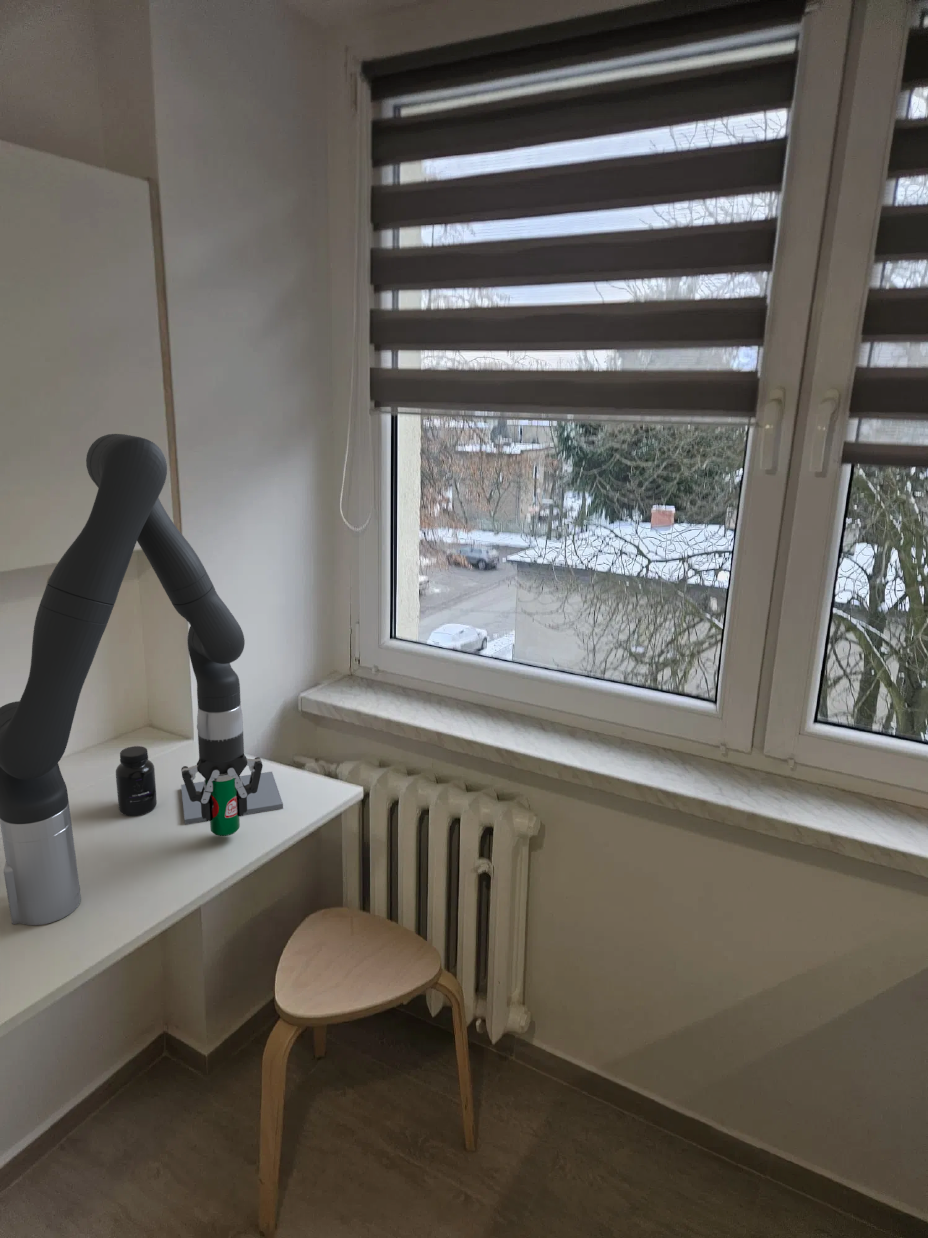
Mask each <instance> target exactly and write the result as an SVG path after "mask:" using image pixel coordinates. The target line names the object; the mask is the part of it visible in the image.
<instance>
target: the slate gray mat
mask: <svg viewBox="0 0 928 1238" xmlns="http://www.w3.org/2000/svg"><path fill="white" fill-rule="evenodd" d="M250 776H251V774H245V775H240V777H241V779H242V782H243V784H244V786H245V785H247V784H249V781H250ZM193 783H194V786H195V789H196V791H200V792H201V790H202V787H203V784H204V781H197V782H193ZM180 788H181V798H182V799H181V800H182V807H183V818H184V825H188V824H189V825H192V824H198V823H203V822H207V821H206V818H205V819H203V818H202V814H201V803H200V802H199V801H195V802H192V801H191V800H190V798H189V795H188V792H187V789H186V786H185V783H183V784H181V785H180ZM238 793H239V792H238ZM281 809H282V810H283V809H284V803H283V800H282V798H281V794H280V791H279V788H278V785H277V781H276V779H275V776H274V773H273V771H267V772H265V771H264V772H261V776H260V780H259V785H258V790H257V792H256V793H251V794H249V795H248V796H247V812H246V813H244V816H245V815H252V814H255V813H256V814H257V813H265V812H269V811H276V810H281Z"/></svg>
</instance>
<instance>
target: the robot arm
mask: <svg viewBox="0 0 928 1238" xmlns="http://www.w3.org/2000/svg"><path fill="white" fill-rule="evenodd" d="M86 453H87V454H86V458H85V463H86V470H87V473H88V475H89V477H90V479H91V480H92V482H93V483H94V484H95V485H96V487H97V489H98V490H97V492H96V497H95V499H94V502H93V505H92V508H91V511H90V514H89V516H88V519H87V520H86V523H85V525H84V527H83V528H82V529H81V532H80V533H79V534H78V535H77V537H76V538H75V539H74V541H73V542H72V543H71V544H70V546H69V547H68V548H67V550H66V551H65V552H64V554H63V555H62V557H61V558H60V559H59V561H58V562H57V564H56V565H55V567H54V568H53V570H52V573H51V575H50V577H49V578H48V581H47V584H46V586H45V589H44V591H43V594H42V596H41V600H40V602H39V605H38V608H37V612H36V616H35V620H34V624H33V631H32V633H33V634H32V643H31V644H32V645H31V657H30V666H29V667H30V668H29V674H28V679H27V682H26V685H25V688H24V690H23V693H22V695H21V697H20V700H19V701H17V700H16V701H13V702H9V703H6V704H4V705H2V706H1V707H0V830H1V836H2V837H1V839H2V843H3V844H2V845H3V850H4V858H5V863H4V866H3V874H4V875H3V876H4V881H5V882H4V883H5V889H6V893H7V901H8V908H9V915H10V919H11V924H12V925H16V924H17V925H18V924H23V925H28V926H40V925H42V926H43V925H46V924H47V925H48V924H51V923H54V922H57V921H60V920H61V919H64V918H66V917H67V916H69V915H71V913H73V912H74V911H75V910H76V909H77V908H78V906H79V905H80V904H81V900H82V897H81V885H80V880H79V871H78V863H77V856H76V849H75V840H74V839H75V838H74V831H73V827H72V826H73V824H72V817H71V809H70V801H69V794H68V788H67V784H66V782H65V779H64V777H63V775H62V772H61V769H60V764H59V762H60V760H61V759H62V758H63V755H64V754H65V752H66V749H67V746H68V742H69V739H70V734H71V731H72V728H73V727H72V725H73V723H74V718H75V715H76V711H77V707H78V703H79V699H80V696H81V693H82V689H83V686H84V684H85V681H86V679H87V676H88V674H89V672H90V669H91V666H92V664H93V661H94V658H95V656H96V653H97V650H98V648H99V645H100V643H101V641H102V637H103V635H104V633H105V631H106V629H107V626H108V623H109V620H110V618H111V615H112V612H113V611H114V607H115V604H116V601H117V600H118V599H117V598H118V595H119V592H120V590H121V586H122V583H123V581H124V578H125V575H126V572H127V570H128V567H129V565H130V562H131V559H132V555H133V553H134V550H135V546H136V545H137V543H138V545H139V547H140V549H141V550H142V552H143V554H144V555H145V557H146V559H147V560H148V562H149V564H150V566H151V567H152V570H153V571H154V573H155V575H156V578H157V579H158V580H159V582H160V584H161V586H162V588H163V590H164V592H165V593H166V595H167V597H168V599H169V601H170V602H171V604H172V606H173V608H174V609H175V610H176V612H177V613H178V614H179V616H181V617H182V618H183V619H185V620H186V621H187V622H188V624H189V625H190V626H189V628H188V632H187V633H188V634H187V649H188V654H189V659H190V663H191V667H192V671H193V673H194V676H195V680H196V697H197V716H196V719H197V720H196V722H197V723H196V730H197V743H198V761H197V762H196V764H195V765H192V766H188V765H184V766H182V767H181V777H182V780H183V784H185V786H186V789H187V792H188V795H189V798H190V800H191V801H192V802H195V801H199V802H200V803H201V814H202V818H203V819H205V818H206V821H205V822H210V803H209V797H210V795H211V793H212V791H213V783H212V781H213V780H214V779H217V778H218V776H219V773H228V774H229V776H230V777H234V778H236V779H235V787H236V789H237V791H238V792H239V793H238V795H239V817H244V816H245V815H244V813H246V812H247V796H248V795H249V794H251V793H256V792H257V790H258V785H259V780H260V776H261V773H262V771H263V766H264V765H263V762H262V759H261V757H259V756H256V757H255V758H247V756H246V754H245V744H244V743H245V741H244V719H243V718H244V717H243V710H242V706H241V705H242V704H241V702H242V701H241V684H240V679H239V675H238V674H237V672H235V670H234V669H233V668H232V667H233V666H232V665H231V663H233V662H235V661H237V660H238V659H239V658H240V657H241V655H242V654H243V652H244V649H245V640H246V639H245V636H244V632H243V629H242V628H241V625H240V624H239V622H238V620H237V619H236V618H235V616H234V615H233V613H232V612H231V611H230V609H229V607H228V606H227V605H226V604H225V602H224V601H223V600H222V598H221V597H220V596H219V594H218V593H217V591H216V588H215V587H214V584H213V582H212V580H211V577H210V576H209V574H208V572H207V570H206V568H205V566H204V565H203V562H202V561H201V559H200V557H199V556H198V554H197V553H196V551H195V549H194V548H193V547H192V545H191V544H190V543H189V541H188V540H187V539H186V537H185V536H184V535H183V534H182V533H181V532H180V529H178V527H177V526H176V524H175V523H174V522H173V520H172V519H171V517H170V516H169V514H168V513H167V511H166V510H165V507H164V506H163V504H162V502H161V500H160V498H159V496H160V495H161V492H162V490H163V489H164V486H165V484H166V479H167V474H168V463H167V460H166V457H165V454H164V453H163V451H162V449H161V448H160V447H159V446H158V445H157V444H156V443H155V442H154V441H151V440H149V439H147V438H145V437H140V436H137V435H131V434H130V435H129V434H122V433H110V434H104V435H103V436H100V437H98V438H97V439H95V440H94V441H93V442H92V444H90V447H89V448H88V451H87V452H86ZM246 767H248V769H249V771H250V772H251V773H250V775H251V776H250V781H249V784H247V785H245V786H244V784H243V782H242V779H241V777H240V776H241V775H242V773H243V772H244V771H245V769H246ZM197 773H199V775H201V776H202V777H203V778H204V784H203V787H202V790H201V792H200V791H196V789H195V786H194V783H195V782H194V780H195V779H196V775H197Z"/></svg>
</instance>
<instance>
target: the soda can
mask: <svg viewBox="0 0 928 1238" xmlns="http://www.w3.org/2000/svg"><path fill="white" fill-rule="evenodd" d="M235 779H236V778H234V777H230V776H229V774H228V773H219V776H218V778H217V779H214V780H213V781H212V783H213V791H212V793H211V795H210V797H209V803H210V821H209V825H210V832H212V833H211V834H213V835H215V836H216V837H228V836H231V835H233V834H235V833H236V832H237V831H238V830H239V829H240V827H241V823H240V821H241V820H240V816H239V795H238V791H237V789H236V787H235Z"/></svg>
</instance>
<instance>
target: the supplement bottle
mask: <svg viewBox="0 0 928 1238" xmlns="http://www.w3.org/2000/svg"><path fill="white" fill-rule="evenodd" d="M119 762H120V763H119V764H118V766H117V767H116V769H115V780H116V781H115V782H116V793H117V805H118V811H119V812H120V813H121V814H122V815H125V816H128V817H138V816H139V817H140V816H144V815H147V814H149V813H151V812H152V811H153V810H154V809H155V808H156V807H157V803H158V800H157V788H156V785H157V784H156V773H155V770H156V769H155V765H154V763H153V762H152V761H151V760H149V754H148V749H147V747H145V746H142V745H141V746H139V745H136V746H135V745H134V746H130V747H129V746H128V747H126V748H124V749H122V750H121V751H120V752H119Z"/></svg>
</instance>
